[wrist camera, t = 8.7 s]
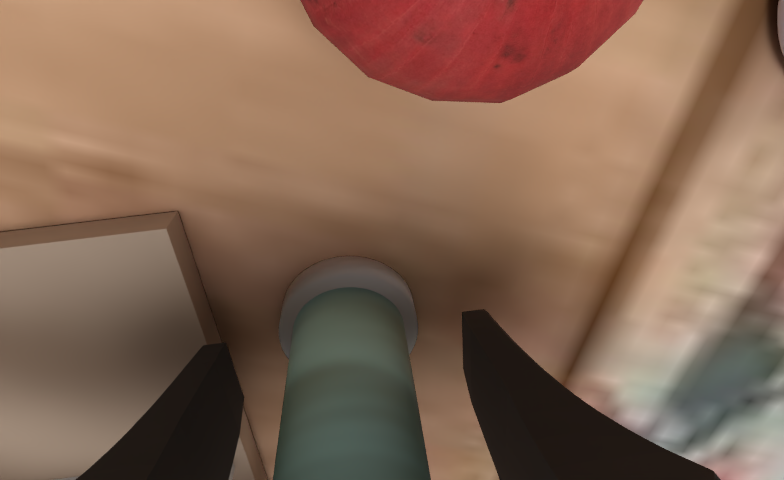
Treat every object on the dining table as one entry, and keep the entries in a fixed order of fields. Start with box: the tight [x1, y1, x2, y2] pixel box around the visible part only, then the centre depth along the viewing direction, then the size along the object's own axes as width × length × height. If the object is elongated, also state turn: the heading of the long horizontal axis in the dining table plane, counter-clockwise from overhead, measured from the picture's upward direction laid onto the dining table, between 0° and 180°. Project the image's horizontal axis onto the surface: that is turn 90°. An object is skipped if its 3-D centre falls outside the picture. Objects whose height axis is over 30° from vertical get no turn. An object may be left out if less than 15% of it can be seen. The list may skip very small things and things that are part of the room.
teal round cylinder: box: [273, 256, 431, 480], centre depth 12 cm, size 4×4×7 cm
